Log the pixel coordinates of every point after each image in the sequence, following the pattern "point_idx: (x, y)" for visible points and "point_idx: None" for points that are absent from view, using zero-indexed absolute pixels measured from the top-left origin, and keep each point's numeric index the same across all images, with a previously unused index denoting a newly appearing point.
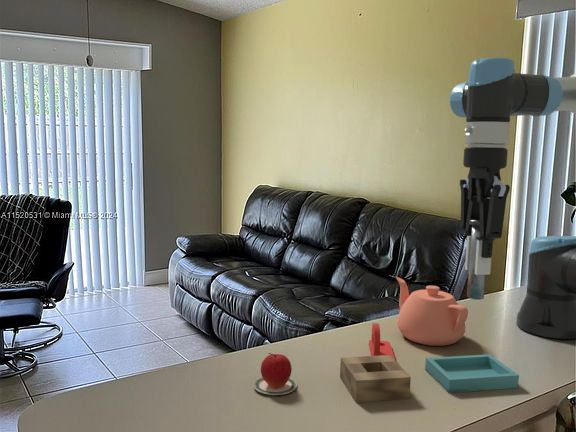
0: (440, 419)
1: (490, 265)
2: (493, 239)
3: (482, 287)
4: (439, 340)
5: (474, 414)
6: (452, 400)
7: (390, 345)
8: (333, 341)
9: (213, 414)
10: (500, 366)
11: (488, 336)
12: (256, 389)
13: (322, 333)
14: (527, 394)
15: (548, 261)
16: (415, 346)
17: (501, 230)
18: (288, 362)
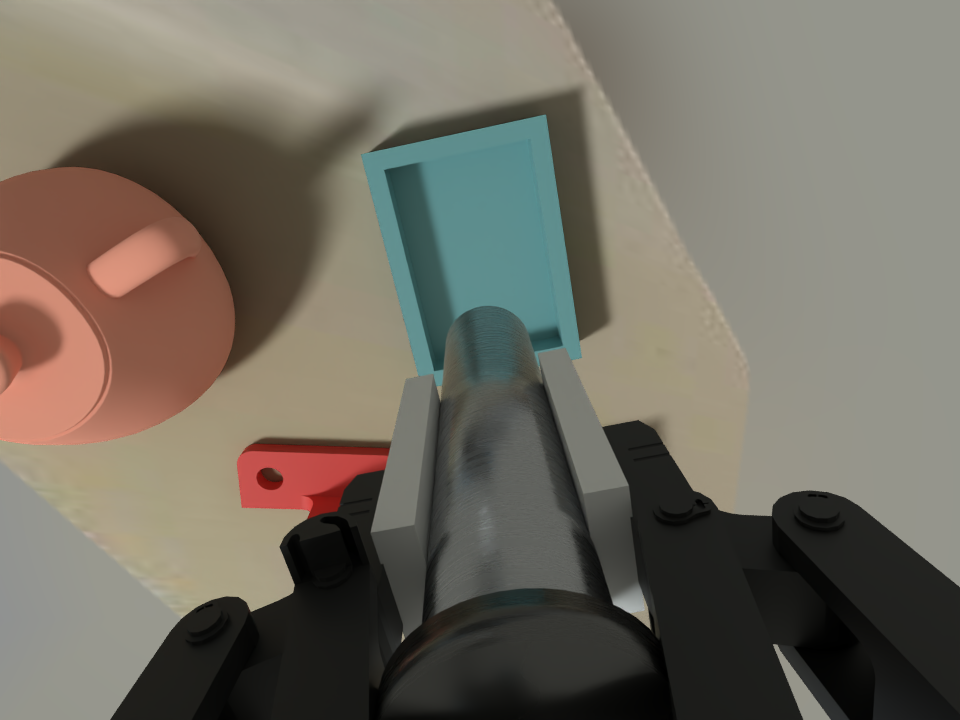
0: (712, 398)
1: (577, 374)
2: (737, 522)
3: (532, 349)
4: (232, 301)
5: (695, 310)
6: (617, 344)
7: (274, 452)
8: (242, 586)
9: None
10: (465, 151)
11: (32, 33)
12: None
13: (182, 610)
14: (585, 101)
15: None
16: (230, 363)
17: (915, 561)
18: None
